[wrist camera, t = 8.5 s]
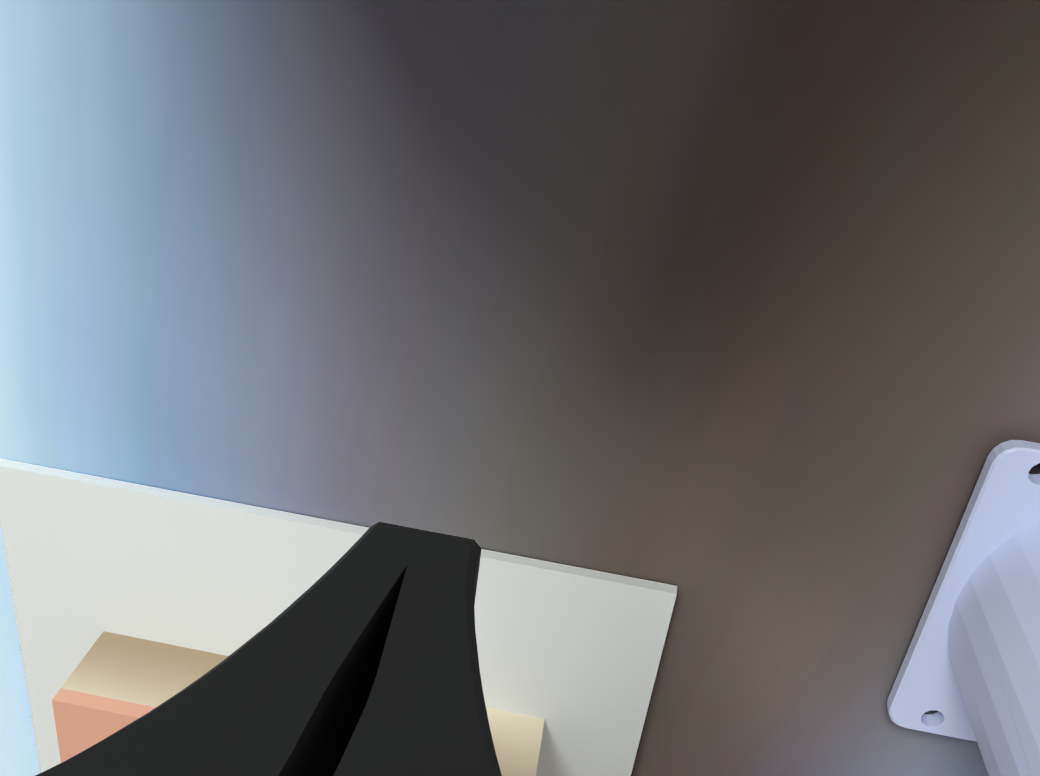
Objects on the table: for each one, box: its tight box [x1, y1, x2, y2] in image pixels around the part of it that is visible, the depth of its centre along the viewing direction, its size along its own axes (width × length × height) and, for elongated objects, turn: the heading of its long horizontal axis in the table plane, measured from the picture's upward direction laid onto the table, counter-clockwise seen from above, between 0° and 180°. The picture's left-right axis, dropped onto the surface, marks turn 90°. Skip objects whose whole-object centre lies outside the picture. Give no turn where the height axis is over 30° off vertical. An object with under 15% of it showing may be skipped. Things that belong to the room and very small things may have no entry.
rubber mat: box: [0, 458, 677, 776], centre depth 28 cm, size 17×15×1 cm
